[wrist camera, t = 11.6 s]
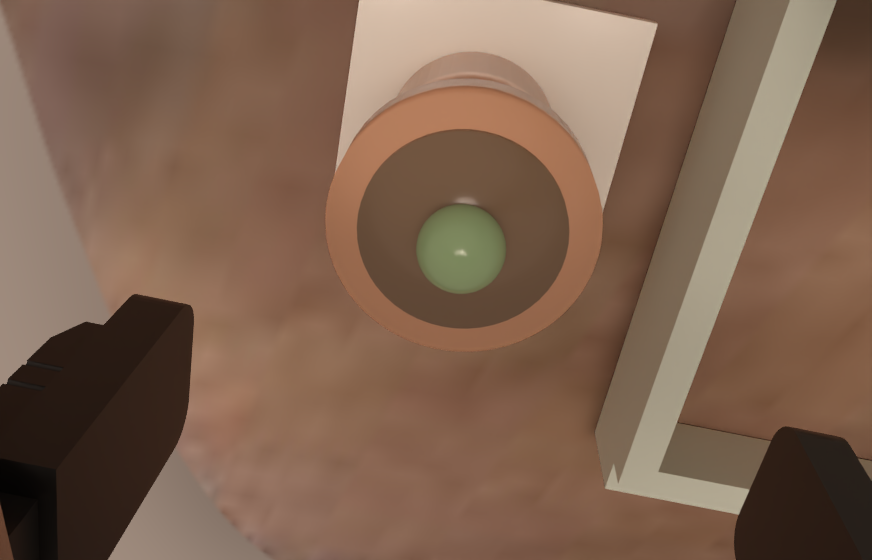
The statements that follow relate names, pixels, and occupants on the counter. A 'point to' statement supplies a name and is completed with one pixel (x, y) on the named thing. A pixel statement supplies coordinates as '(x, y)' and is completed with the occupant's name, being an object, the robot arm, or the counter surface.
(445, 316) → the clay pot
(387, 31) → the tile
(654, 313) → the cold frame
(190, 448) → the counter surface
